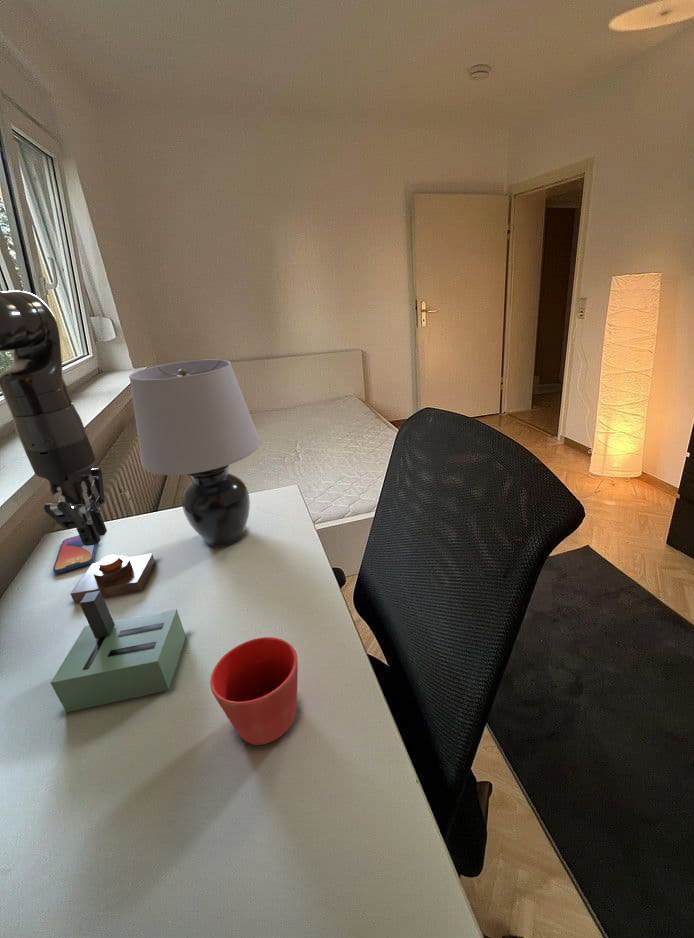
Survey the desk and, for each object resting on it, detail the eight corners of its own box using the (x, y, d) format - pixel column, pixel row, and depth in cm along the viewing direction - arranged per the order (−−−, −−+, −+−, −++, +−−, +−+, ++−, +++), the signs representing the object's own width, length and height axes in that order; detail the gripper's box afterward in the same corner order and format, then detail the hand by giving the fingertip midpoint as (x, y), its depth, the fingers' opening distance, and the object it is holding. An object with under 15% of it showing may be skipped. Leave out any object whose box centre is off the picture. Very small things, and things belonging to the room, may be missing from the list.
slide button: (95, 638, 69) (79, 603, 66) (101, 627, 71) (86, 592, 68) (109, 636, 69) (93, 600, 66) (115, 624, 71) (100, 590, 68)
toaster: (66, 712, 64) (49, 682, 61) (97, 653, 74) (84, 625, 71) (169, 690, 66) (157, 660, 64) (186, 636, 76) (176, 608, 74)
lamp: (178, 522, 112) (129, 365, 96) (274, 503, 119) (244, 352, 103) (162, 578, 91) (96, 390, 75) (280, 552, 98) (243, 372, 82)
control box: (74, 602, 86) (66, 586, 84) (95, 571, 95) (89, 556, 93) (140, 591, 88) (134, 574, 86) (155, 561, 97) (150, 546, 95)
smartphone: (100, 533, 110) (98, 529, 109) (94, 564, 97) (92, 559, 97) (64, 543, 107) (62, 539, 106) (53, 575, 94) (51, 571, 94)
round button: (98, 573, 88) (95, 566, 87) (105, 563, 91) (102, 556, 91) (117, 570, 89) (115, 563, 88) (124, 560, 92) (121, 553, 91)
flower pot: (261, 675, 68) (248, 627, 64) (322, 697, 64) (312, 647, 60) (209, 739, 59) (190, 688, 55) (276, 769, 55) (261, 716, 51)
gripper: (50, 427, 70) (89, 521, 77) (-4, 460, 57) (48, 569, 64) (102, 421, 71) (135, 514, 78) (60, 452, 58) (104, 560, 65)
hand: (96, 539), depth 71 cm, fingers closed
